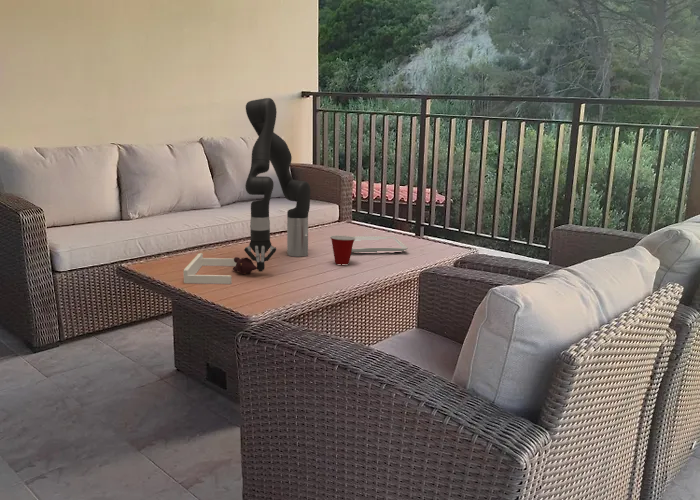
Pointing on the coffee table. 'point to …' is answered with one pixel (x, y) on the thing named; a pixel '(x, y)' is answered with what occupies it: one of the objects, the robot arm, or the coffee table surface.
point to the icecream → (244, 265)
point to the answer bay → (207, 279)
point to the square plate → (359, 238)
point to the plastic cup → (342, 248)
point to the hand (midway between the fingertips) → (260, 270)
